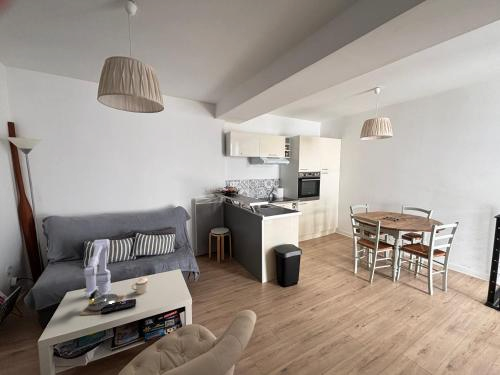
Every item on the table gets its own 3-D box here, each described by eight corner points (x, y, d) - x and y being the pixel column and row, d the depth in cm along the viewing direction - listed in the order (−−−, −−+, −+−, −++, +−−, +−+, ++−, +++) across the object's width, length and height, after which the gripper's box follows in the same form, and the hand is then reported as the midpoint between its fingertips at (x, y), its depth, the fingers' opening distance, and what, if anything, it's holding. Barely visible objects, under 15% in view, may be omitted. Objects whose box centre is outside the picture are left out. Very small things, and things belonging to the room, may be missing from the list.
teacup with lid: (148, 287, 176) (148, 274, 175) (148, 292, 168) (147, 279, 167) (132, 290, 171) (132, 277, 171) (131, 296, 163) (130, 282, 162)
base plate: (97, 298, 161) (97, 296, 161) (124, 296, 163) (124, 294, 163) (79, 315, 141) (79, 314, 141) (110, 313, 144) (110, 311, 144)
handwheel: (95, 298, 159) (95, 290, 158) (121, 294, 163) (121, 287, 163) (82, 313, 141) (82, 304, 141) (112, 309, 146) (111, 300, 145)
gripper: (87, 279, 153) (88, 296, 154) (80, 289, 140) (81, 308, 141) (99, 277, 156) (100, 294, 157) (93, 287, 143) (94, 305, 144)
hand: (92, 301), depth 149 cm, fingers closed
